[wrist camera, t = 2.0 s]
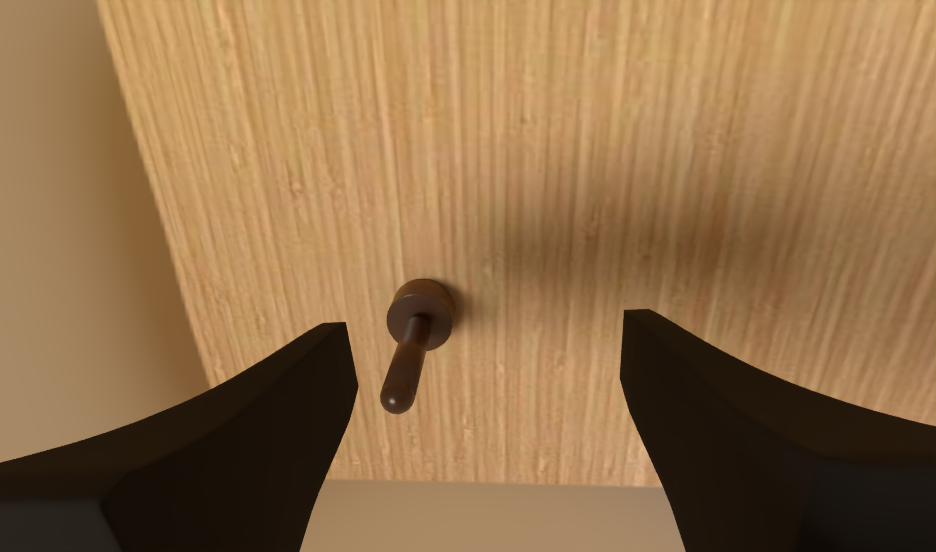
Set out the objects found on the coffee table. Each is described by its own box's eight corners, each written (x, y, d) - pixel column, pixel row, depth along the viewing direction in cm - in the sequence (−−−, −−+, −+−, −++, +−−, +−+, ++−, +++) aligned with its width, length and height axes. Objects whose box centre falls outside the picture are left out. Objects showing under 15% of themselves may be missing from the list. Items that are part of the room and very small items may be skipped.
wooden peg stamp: (458, 332, 23) (442, 440, 16) (398, 335, 23) (358, 443, 17) (452, 277, 22) (432, 368, 15) (389, 280, 22) (342, 372, 15)
